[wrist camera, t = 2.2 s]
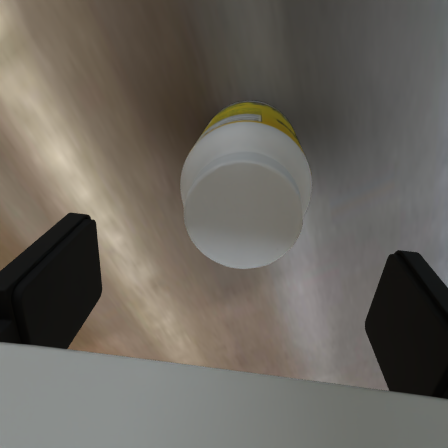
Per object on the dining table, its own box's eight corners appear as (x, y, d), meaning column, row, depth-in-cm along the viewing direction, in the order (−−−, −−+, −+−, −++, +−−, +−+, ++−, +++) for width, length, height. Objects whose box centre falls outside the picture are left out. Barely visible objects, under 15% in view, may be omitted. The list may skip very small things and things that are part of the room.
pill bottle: (302, 180, 24) (334, 273, 14) (216, 197, 25) (190, 295, 15) (287, 87, 21) (313, 121, 11) (192, 111, 22) (140, 162, 12)
